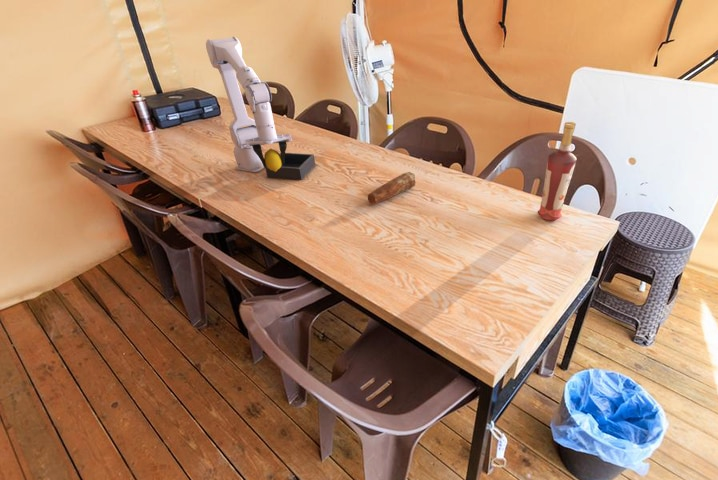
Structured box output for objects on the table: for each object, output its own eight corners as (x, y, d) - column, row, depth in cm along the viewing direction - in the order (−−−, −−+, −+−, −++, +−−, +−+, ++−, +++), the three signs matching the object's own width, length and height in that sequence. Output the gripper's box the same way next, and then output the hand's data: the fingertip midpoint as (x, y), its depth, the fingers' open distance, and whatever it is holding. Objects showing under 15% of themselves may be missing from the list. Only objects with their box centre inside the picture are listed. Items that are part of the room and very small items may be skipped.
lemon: (279, 175, 135) (274, 152, 130) (264, 174, 136) (258, 151, 131) (286, 168, 139) (281, 146, 134) (271, 167, 140) (266, 145, 135)
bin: (267, 177, 148) (264, 166, 146) (283, 163, 159) (281, 152, 156) (301, 180, 146) (299, 168, 143) (315, 165, 156) (313, 154, 154)
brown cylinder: (417, 189, 138) (417, 173, 135) (374, 208, 128) (373, 192, 124) (404, 183, 142) (404, 168, 138) (362, 201, 131) (361, 186, 128)
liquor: (557, 226, 117) (581, 129, 100) (532, 219, 120) (552, 125, 103) (564, 215, 122) (588, 121, 105) (540, 209, 125) (559, 117, 108)
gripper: (241, 130, 123) (252, 172, 131) (289, 125, 126) (296, 166, 135) (241, 124, 128) (251, 164, 137) (287, 118, 132) (294, 158, 140)
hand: (274, 164), depth 136 cm, fingers closed on lemon, 5 cm apart
